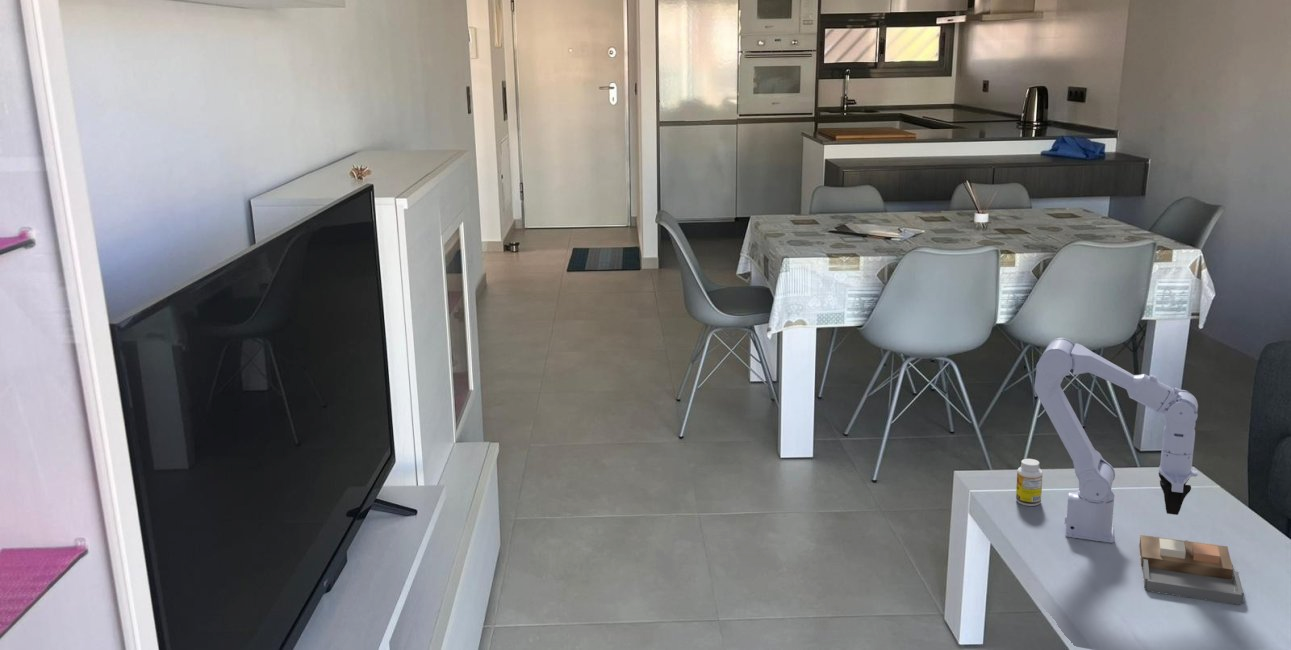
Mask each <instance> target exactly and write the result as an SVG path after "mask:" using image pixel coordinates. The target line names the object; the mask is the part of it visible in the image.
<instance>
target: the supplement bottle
mask: <svg viewBox="0 0 1291 650" xmlns="http://www.w3.org/2000/svg"><path fill="white" fill-rule="evenodd" d="M1020 462H1021V464H1020V466H1019V467H1018V468H1017V470H1016V488H1015V489H1016V492H1015V493H1016V495H1015V500H1016V501H1017V502H1018V504H1020V505H1023V506H1025V507H1027V506H1028V507H1034V506H1035V507H1036V506H1038V505H1040V504H1041V503H1042V492H1043V491H1042V490H1043V489H1042V488H1043V470H1042V469H1041V468H1040V461H1039V460H1037V459H1035V458H1034V459H1033V458H1025V459H1022V460H1021V461H1020Z"/></svg>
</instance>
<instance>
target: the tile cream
mask: <svg viewBox="0 0 1291 650" xmlns="http://www.w3.org/2000/svg"><path fill="white" fill-rule="evenodd" d="M1161 538H1162V537H1160V538H1159V552H1160V555H1161V556H1168V557H1176V558H1183V559H1185V554H1186V551H1185V545H1184V542H1183V541H1184V540H1183V541H1176V540H1177V539H1175V540H1168V539H1169V538H1168V539H1161Z"/></svg>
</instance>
